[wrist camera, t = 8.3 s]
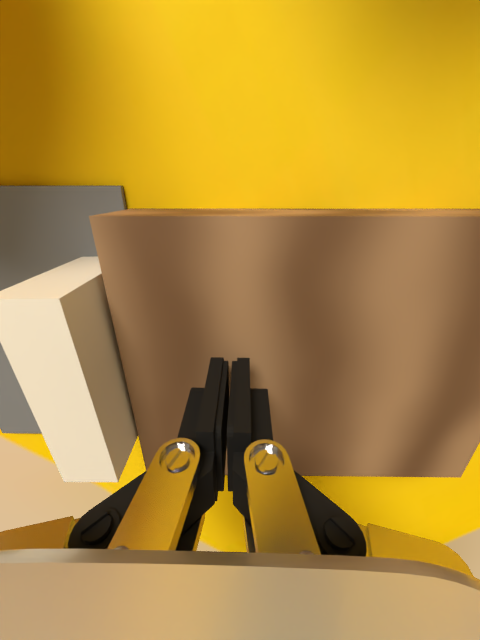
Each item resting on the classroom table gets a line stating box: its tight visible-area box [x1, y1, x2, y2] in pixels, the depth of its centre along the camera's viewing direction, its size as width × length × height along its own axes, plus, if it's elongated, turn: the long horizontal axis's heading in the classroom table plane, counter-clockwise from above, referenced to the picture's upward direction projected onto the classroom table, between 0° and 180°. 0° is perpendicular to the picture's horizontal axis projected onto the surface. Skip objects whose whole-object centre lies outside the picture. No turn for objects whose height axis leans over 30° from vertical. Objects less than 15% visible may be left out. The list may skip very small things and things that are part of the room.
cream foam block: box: [0, 257, 138, 482], centre depth 13 cm, size 6×9×2 cm
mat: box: [0, 186, 127, 433], centre depth 16 cm, size 12×16×1 cm
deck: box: [89, 209, 480, 477], centre depth 14 cm, size 18×14×4 cm
